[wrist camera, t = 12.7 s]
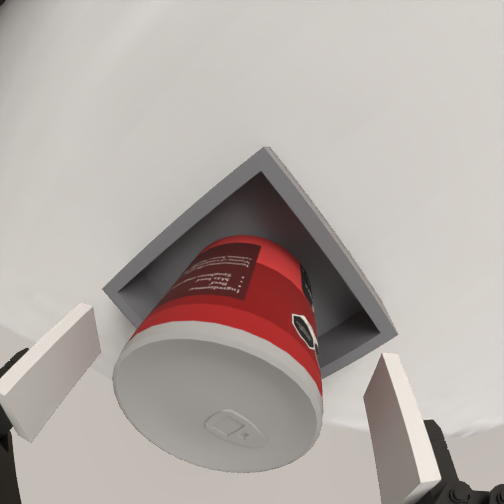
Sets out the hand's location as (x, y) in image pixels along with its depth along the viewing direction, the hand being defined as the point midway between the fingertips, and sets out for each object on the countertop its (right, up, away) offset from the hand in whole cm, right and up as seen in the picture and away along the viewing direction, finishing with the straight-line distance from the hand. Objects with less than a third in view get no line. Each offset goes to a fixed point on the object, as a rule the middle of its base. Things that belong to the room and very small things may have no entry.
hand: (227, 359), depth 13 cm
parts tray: (+1, +2, +8) cm, 8 cm away
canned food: (+1, +2, +7) cm, 8 cm away
